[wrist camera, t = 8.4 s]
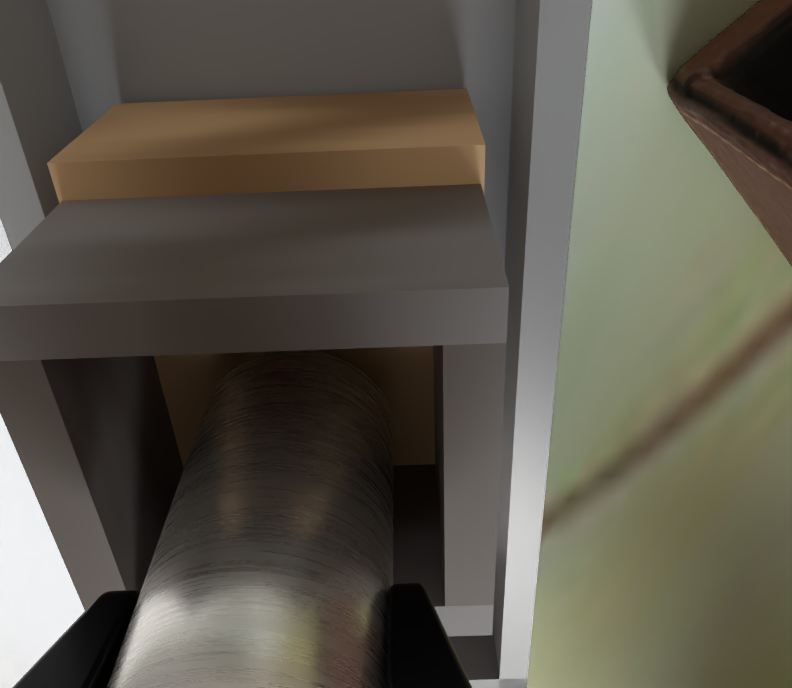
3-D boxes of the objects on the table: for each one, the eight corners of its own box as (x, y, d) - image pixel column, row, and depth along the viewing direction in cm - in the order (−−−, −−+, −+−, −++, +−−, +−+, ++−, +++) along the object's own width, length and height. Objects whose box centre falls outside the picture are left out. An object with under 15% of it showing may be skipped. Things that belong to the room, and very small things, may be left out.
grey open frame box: (467, 88, 12) (516, 239, 7) (463, 412, 16) (493, 657, 11) (116, 104, 13) (-69, 262, 8) (194, 421, 16) (106, 667, 11)
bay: (562, -147, 11) (606, -150, 9) (511, 604, 21) (525, 696, 19) (-15, -118, 11) (-120, -115, 9) (200, 613, 21) (176, 705, 19)
